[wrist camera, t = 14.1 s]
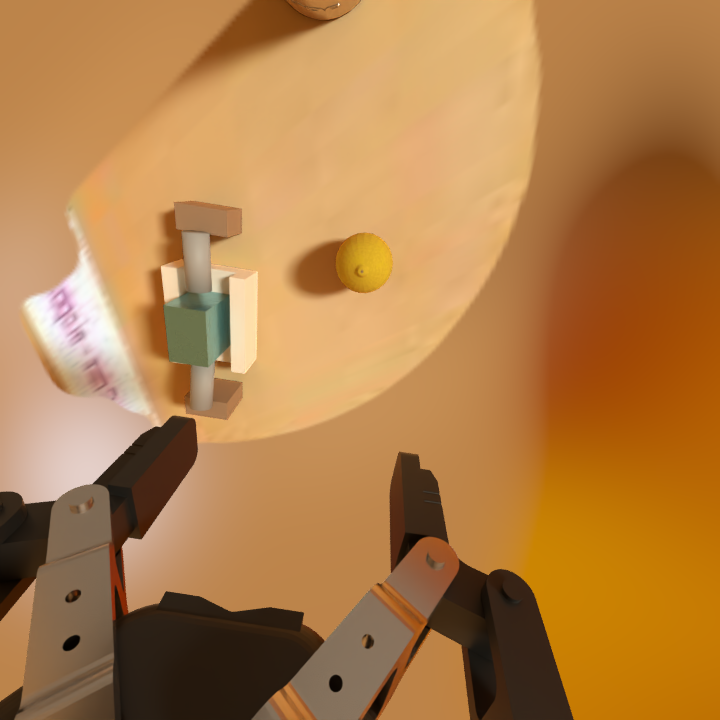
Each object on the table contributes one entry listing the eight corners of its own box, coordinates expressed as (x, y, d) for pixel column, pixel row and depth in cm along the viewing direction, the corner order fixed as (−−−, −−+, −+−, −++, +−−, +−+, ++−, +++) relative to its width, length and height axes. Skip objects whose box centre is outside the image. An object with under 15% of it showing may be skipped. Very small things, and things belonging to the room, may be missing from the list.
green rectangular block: (194, 288, 38) (163, 305, 33) (230, 294, 38) (205, 311, 33) (197, 338, 41) (169, 361, 36) (231, 344, 41) (208, 367, 36)
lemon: (390, 282, 39) (391, 304, 32) (340, 280, 39) (330, 300, 32) (393, 229, 36) (396, 239, 29) (340, 227, 37) (329, 236, 29)
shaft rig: (176, 198, 36) (130, 200, 30) (258, 211, 36) (231, 216, 30) (191, 389, 47) (160, 422, 40) (255, 399, 47) (234, 434, 40)
